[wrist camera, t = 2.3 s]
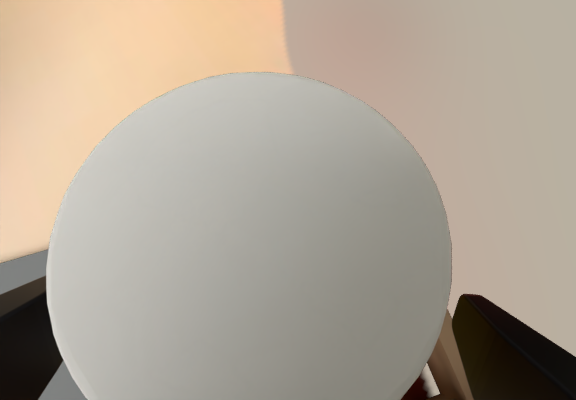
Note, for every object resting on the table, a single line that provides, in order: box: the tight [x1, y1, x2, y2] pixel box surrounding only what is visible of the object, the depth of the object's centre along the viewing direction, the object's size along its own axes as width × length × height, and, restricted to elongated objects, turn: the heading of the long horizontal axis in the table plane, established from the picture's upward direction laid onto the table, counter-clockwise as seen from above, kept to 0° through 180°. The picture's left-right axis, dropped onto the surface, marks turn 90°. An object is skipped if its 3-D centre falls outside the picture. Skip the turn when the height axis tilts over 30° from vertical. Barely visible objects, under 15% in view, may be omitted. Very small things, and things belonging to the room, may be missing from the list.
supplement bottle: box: [46, 72, 452, 400], centre depth 10 cm, size 7×7×13 cm
